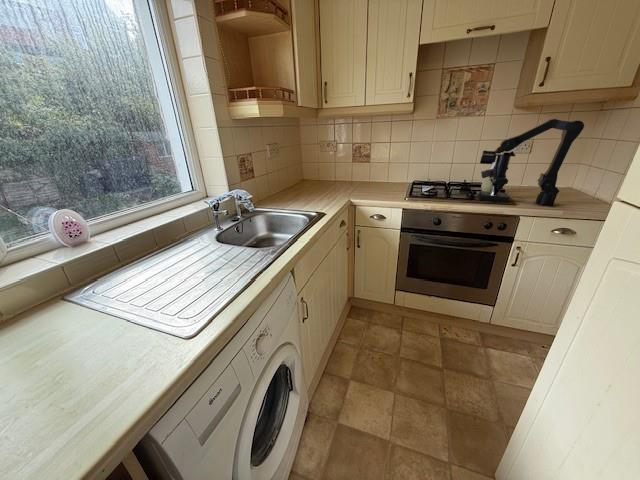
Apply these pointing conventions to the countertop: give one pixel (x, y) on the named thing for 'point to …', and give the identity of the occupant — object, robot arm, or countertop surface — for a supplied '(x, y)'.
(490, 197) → the control panel
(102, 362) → the countertop surface
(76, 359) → the countertop surface
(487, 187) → the squeeze bottle
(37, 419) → the countertop surface
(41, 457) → the countertop surface
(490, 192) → the dial
